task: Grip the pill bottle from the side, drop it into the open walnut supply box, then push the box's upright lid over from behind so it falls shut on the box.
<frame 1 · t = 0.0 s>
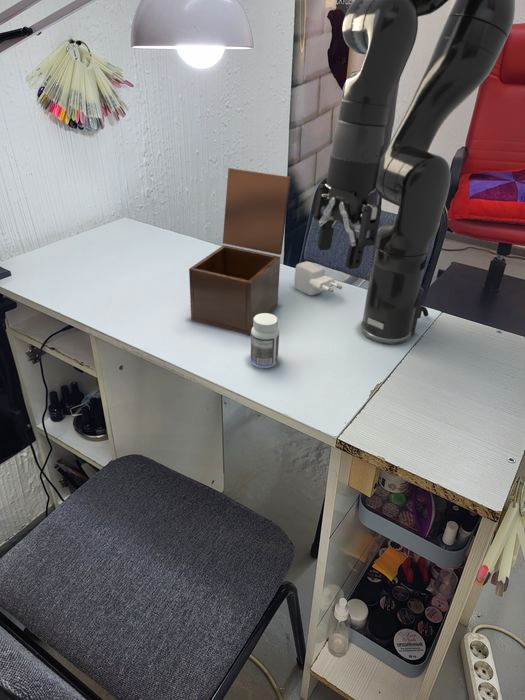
hand: (337, 258, 86), 17 cm above the table, tool pointing down, fingers open, 8 cm apart
lid: (255, 211, 101), point 18 cm above the table, hinge at 100.0°
pill bottle: (263, 362, 90), on the table
supply box: (235, 312, 105), on the table
power adapter: (316, 295, 113), on the table
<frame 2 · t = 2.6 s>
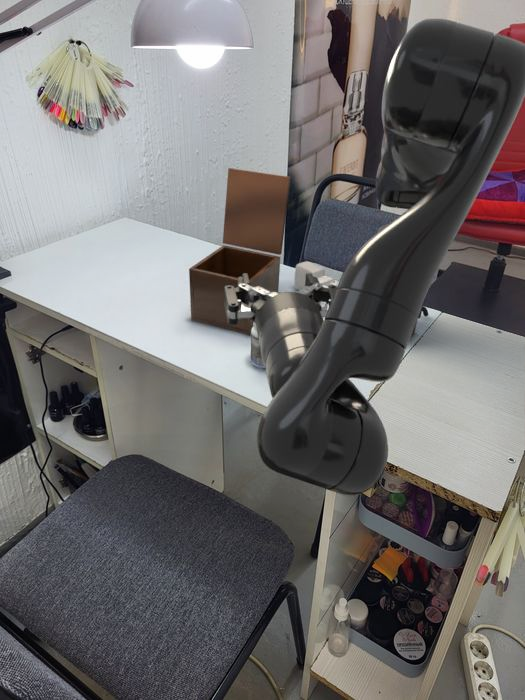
hand: (276, 279, 70), 20 cm above the table, tool horizontal, fingers open, 8 cm apart
nothing on the table moved.
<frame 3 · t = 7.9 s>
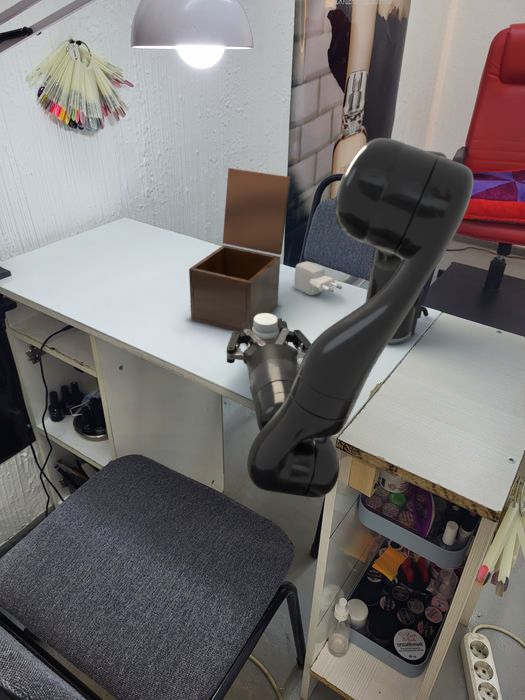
hand: (263, 323, 89), 6 cm above the table, tool horizontal, fingers closed on pill bottle, 4 cm apart
pill bottle: (263, 362, 90), on the table, touching gripper
everything else where it was.
when the fingers open (15 cm above the table, at t = 14.8 s): pill bottle drops 8 cm, resting on supply box.
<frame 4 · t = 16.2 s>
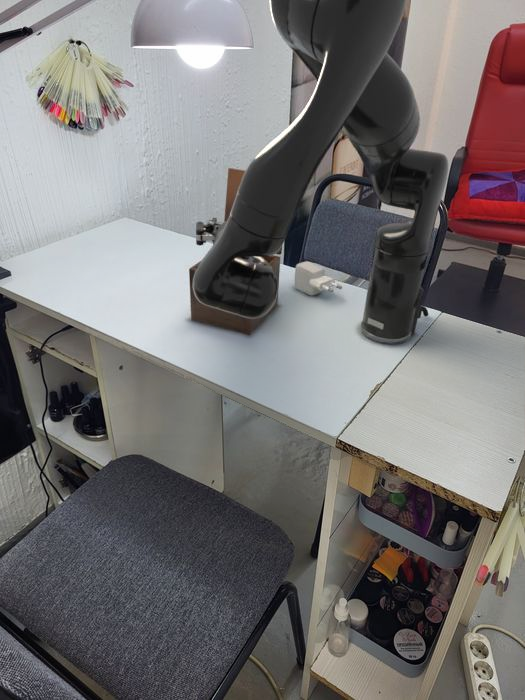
hand: (238, 223, 95), 18 cm above the table, tool horizontal, fingers open, 8 cm apart
pill bottle: (232, 313, 103), point 1 cm above the table, touching supply box
everything else where it was.
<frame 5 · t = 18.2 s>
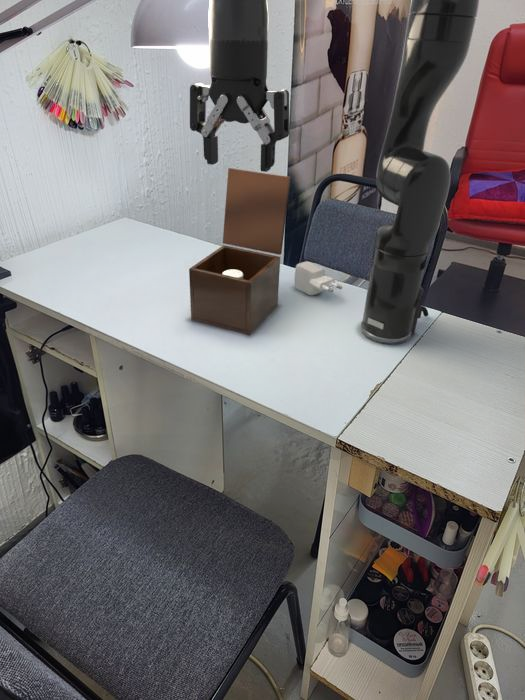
hand: (238, 166, 75), 32 cm above the table, tool pointing down, fingers open, 8 cm apart
nothing on the table moved.
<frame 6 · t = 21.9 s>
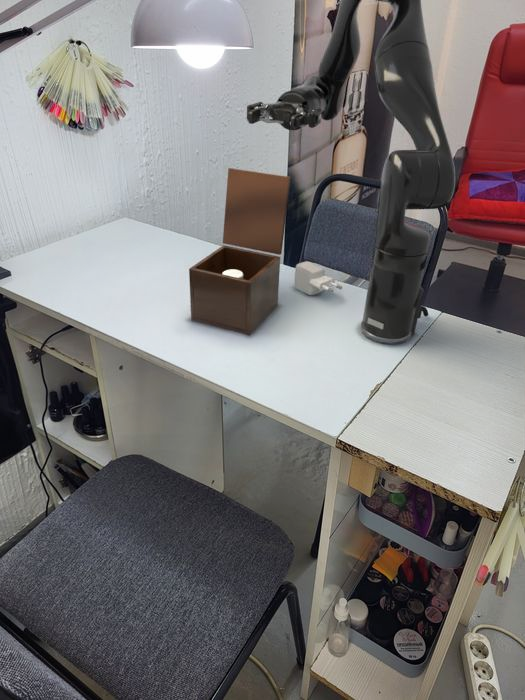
hand: (271, 120, 98), 34 cm above the table, tool horizontal, fingers open, 8 cm apart
nothing on the table moved.
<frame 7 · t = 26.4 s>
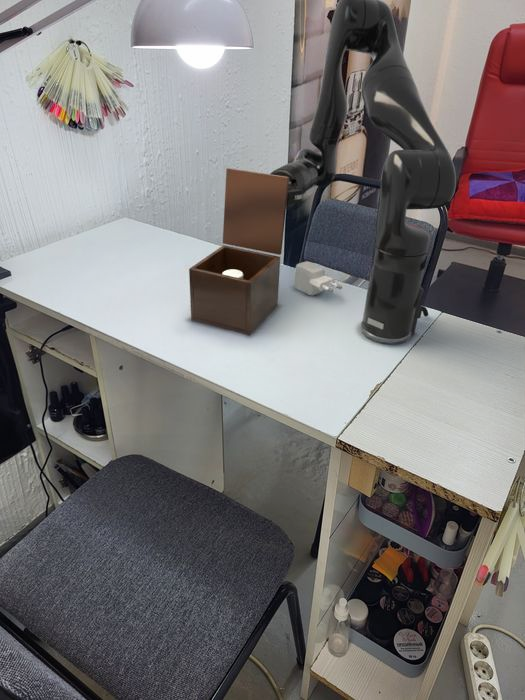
hand: (256, 202, 100), 20 cm above the table, tool horizontal, fingers closed
lid: (254, 211, 101), point 18 cm above the table, hinge at 96.8°, touching gripper
everything else where it was.
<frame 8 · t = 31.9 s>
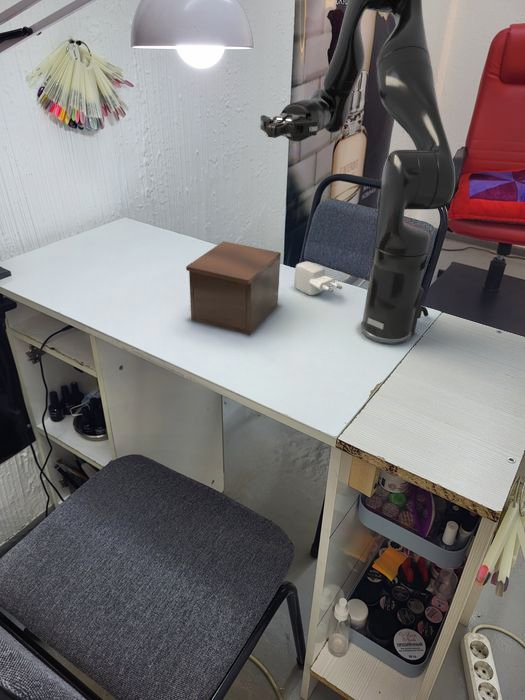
hand: (271, 131, 99), 32 cm above the table, tool horizontal, fingers closed
lid: (235, 261, 98), point 11 cm above the table, hinge at -0.2°
everything else where it was.
at the end: pill bottle inside the target area in the supply box (1.6 cm from its centre), point 0.6 cm above the supply box's base; lid at +0° (first picture: +100°) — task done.
